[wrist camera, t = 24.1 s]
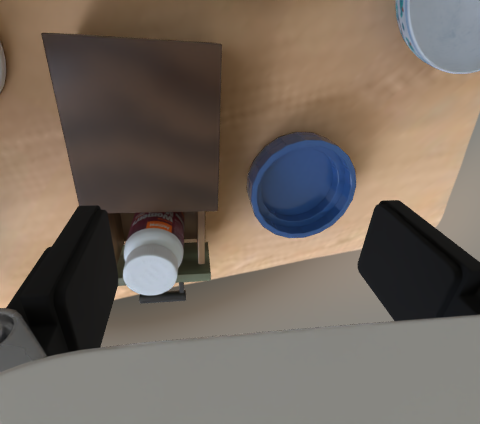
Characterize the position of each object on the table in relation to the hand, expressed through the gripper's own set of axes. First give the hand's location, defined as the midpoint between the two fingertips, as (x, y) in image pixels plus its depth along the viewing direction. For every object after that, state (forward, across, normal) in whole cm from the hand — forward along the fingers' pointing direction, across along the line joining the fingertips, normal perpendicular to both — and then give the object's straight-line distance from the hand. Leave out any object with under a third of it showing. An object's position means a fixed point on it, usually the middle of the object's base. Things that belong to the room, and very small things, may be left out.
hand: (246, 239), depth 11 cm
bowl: (+28, -12, +10) cm, 32 cm away
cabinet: (+28, +6, +2) cm, 29 cm away
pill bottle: (+26, +6, +14) cm, 31 cm away
